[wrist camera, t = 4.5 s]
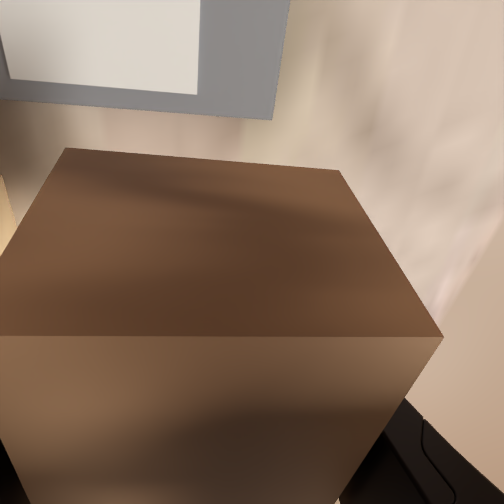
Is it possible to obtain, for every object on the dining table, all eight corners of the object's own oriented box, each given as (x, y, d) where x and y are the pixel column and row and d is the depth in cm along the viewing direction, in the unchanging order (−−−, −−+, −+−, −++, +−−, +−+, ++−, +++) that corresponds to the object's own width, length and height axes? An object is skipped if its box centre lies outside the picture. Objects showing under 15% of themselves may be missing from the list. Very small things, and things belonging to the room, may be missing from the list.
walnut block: (98, 378, 13) (59, 565, 9) (66, 147, 8) (-47, 336, 4) (276, 375, 14) (309, 542, 10) (339, 170, 9) (443, 336, 5)
